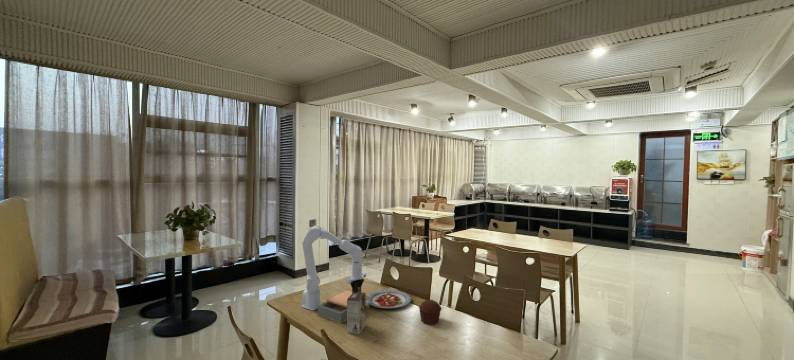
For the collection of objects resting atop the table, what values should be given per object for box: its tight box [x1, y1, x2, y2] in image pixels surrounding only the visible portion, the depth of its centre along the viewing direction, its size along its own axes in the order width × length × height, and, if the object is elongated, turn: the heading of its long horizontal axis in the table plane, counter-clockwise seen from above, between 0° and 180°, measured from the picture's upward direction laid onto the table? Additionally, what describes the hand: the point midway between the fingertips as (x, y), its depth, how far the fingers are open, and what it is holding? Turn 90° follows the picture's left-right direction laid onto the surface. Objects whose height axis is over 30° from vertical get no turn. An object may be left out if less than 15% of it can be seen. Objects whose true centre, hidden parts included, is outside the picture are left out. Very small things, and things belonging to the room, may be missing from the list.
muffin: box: [418, 299, 443, 326], centre depth 167 cm, size 12×11×10 cm
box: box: [317, 301, 347, 324], centre depth 174 cm, size 16×16×5 cm
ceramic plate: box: [366, 289, 412, 309], centre depth 190 cm, size 26×26×3 cm
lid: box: [326, 287, 370, 308], centre depth 180 cm, size 17×17×5 cm
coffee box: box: [346, 292, 367, 335], centre depth 158 cm, size 9×6×16 cm
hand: (356, 292), depth 185 cm, fingers closed on lid, 2 cm apart
